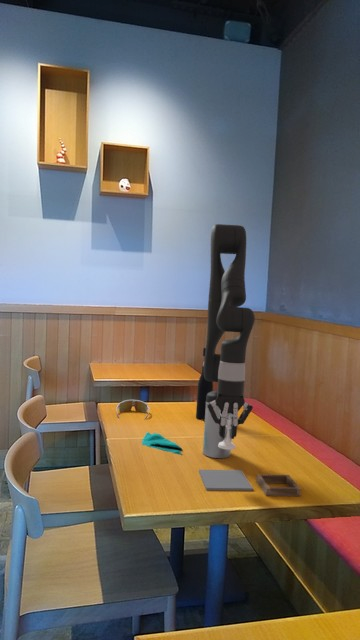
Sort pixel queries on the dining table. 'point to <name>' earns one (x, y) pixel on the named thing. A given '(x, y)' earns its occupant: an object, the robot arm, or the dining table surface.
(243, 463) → the dining table surface
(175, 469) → the dining table surface
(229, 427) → the chess piece
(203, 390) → the wine bottle
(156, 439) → the cloth
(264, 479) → the square frame
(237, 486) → the mat
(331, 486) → the dining table surface
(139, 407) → the sunglasses
